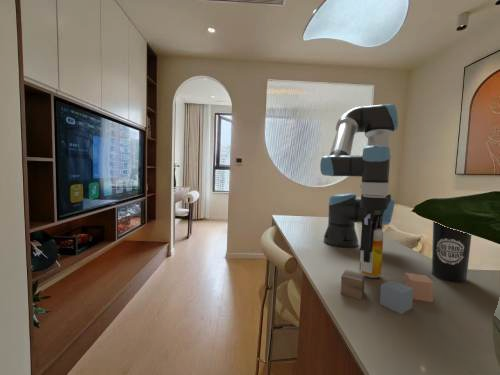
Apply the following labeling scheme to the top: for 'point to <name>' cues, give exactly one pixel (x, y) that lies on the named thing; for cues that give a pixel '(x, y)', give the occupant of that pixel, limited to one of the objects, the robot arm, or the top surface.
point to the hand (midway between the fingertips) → (370, 268)
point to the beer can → (375, 255)
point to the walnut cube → (352, 284)
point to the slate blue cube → (396, 296)
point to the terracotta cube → (420, 286)
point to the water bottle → (450, 254)
